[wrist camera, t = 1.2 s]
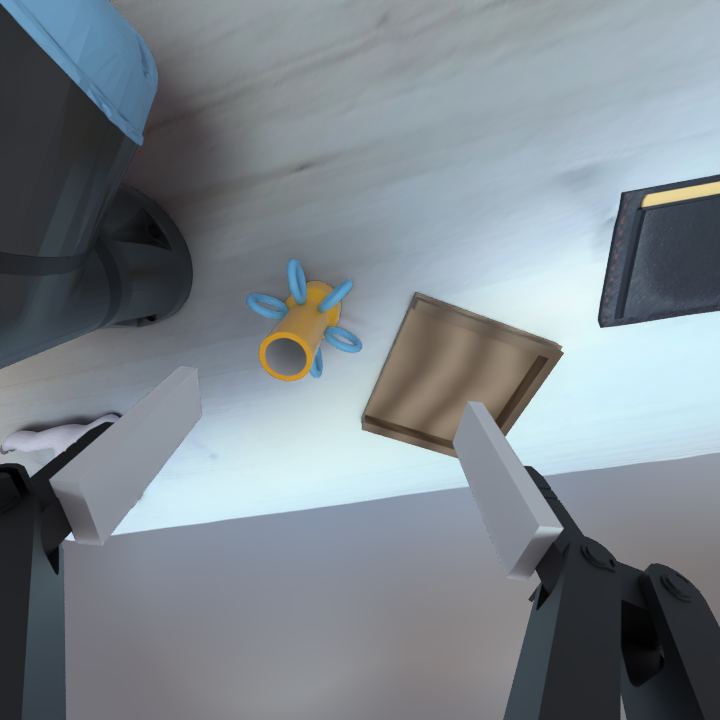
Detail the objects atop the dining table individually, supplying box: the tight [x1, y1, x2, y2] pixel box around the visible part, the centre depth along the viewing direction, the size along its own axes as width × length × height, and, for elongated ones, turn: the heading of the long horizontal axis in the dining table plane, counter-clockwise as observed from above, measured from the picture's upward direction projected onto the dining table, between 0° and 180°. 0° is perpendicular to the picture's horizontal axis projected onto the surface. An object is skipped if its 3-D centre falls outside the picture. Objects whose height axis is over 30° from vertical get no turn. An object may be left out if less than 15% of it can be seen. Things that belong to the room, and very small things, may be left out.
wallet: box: [598, 175, 720, 328], centre depth 32 cm, size 20×2×15 cm
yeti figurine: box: [0, 414, 138, 508], centre depth 45 cm, size 20×7×20 cm
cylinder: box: [246, 259, 362, 381], centre depth 29 cm, size 12×10×15 cm
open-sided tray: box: [361, 292, 564, 458], centre depth 39 cm, size 19×19×3 cm
